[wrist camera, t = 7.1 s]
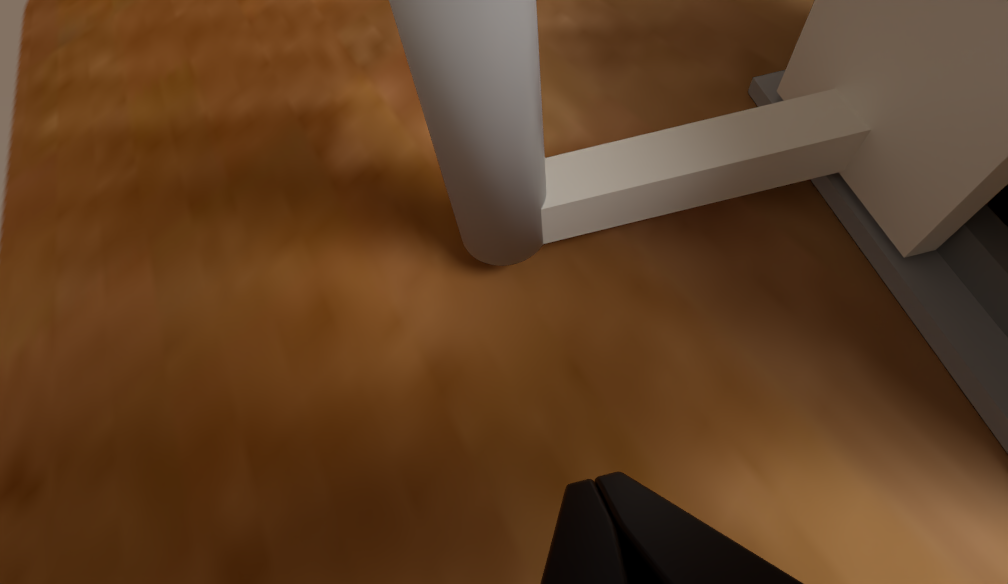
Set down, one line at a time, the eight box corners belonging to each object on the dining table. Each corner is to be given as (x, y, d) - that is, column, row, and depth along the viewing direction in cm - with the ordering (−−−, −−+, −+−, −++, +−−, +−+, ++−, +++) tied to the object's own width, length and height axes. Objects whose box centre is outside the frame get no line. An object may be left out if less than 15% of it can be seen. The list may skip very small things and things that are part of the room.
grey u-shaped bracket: (935, 249, 15) (1892, -626, 4) (488, 359, 15) (270, -261, 4) (801, 85, 20) (1113, -585, 8) (447, 170, 19) (282, -401, 8)
